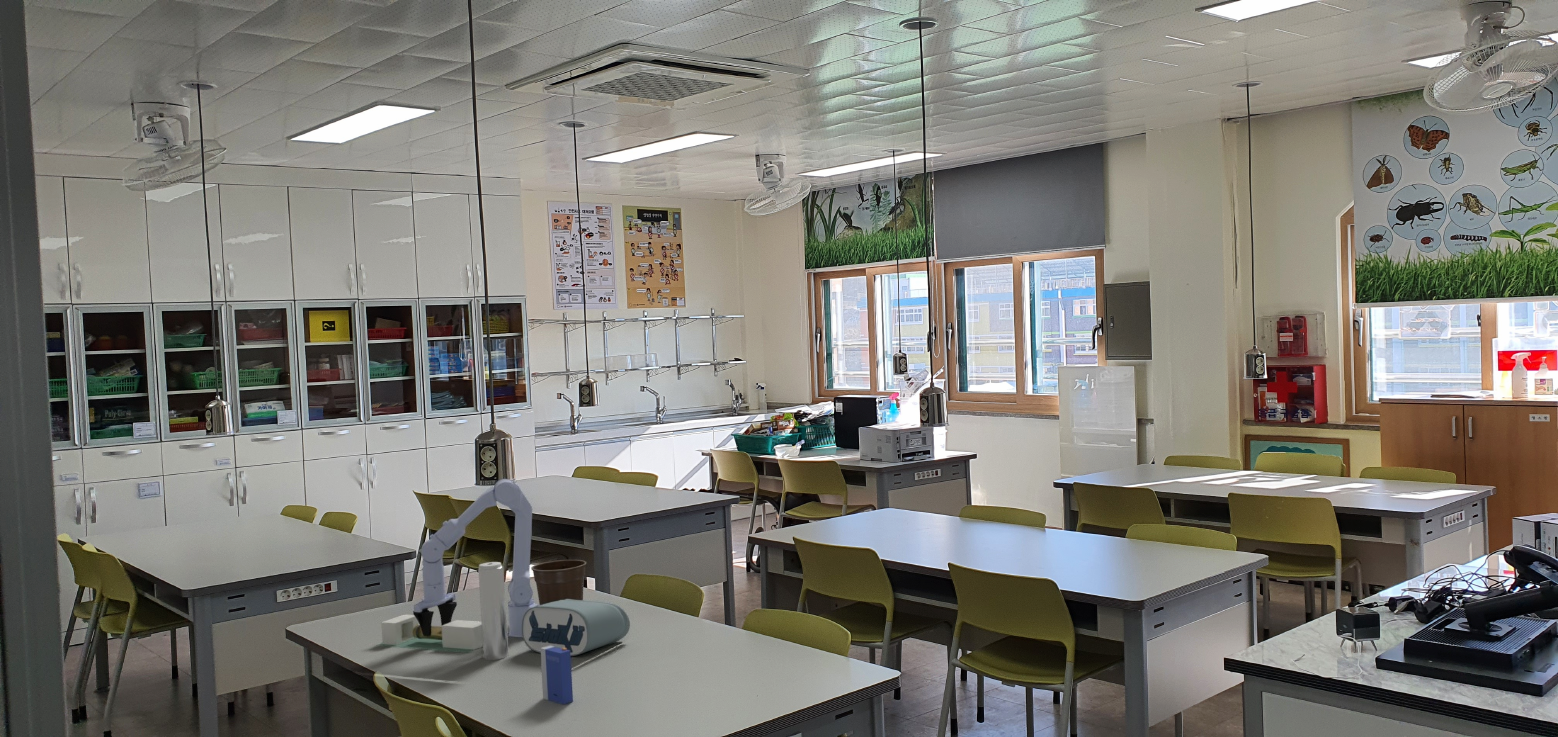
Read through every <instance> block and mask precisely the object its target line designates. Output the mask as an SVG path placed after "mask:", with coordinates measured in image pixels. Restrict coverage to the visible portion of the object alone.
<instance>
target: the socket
mask: <svg viewBox="0 0 1558 737" xmlns="http://www.w3.org/2000/svg"><path fill="white" fill-rule="evenodd" d="M416 625H420V624H419V622H418V620H417V619H416V617H415V616H414V614H402V615H399V616H396V617H392V618H390V619H386V620H384V621H381V638H382V643H383V644H388V645H398V644H401V643H404V642H406V641H409V640H412V639H414V636H413V629H414V627H415V626H416Z"/></svg>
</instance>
